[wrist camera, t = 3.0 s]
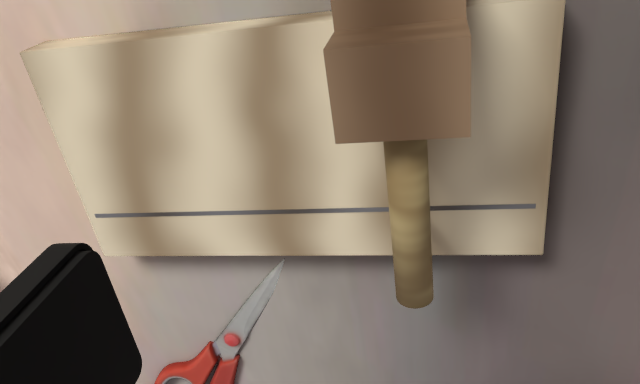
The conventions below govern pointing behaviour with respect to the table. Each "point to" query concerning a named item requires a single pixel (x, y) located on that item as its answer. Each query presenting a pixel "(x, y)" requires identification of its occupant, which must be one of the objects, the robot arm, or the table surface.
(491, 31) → the maple board
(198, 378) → the scissors
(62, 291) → the robot arm
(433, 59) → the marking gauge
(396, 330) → the table surface
